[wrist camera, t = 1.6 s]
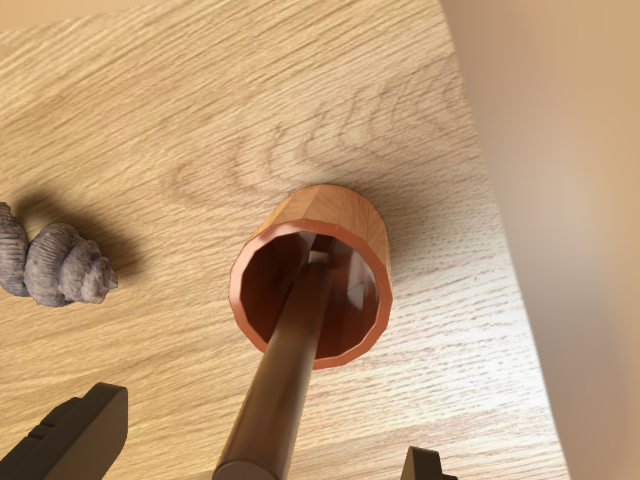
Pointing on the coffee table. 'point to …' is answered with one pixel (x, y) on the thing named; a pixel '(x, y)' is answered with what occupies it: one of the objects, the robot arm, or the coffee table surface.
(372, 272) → the crock
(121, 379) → the coffee table surface
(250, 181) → the coffee table surface
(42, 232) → the seashell
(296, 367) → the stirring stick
